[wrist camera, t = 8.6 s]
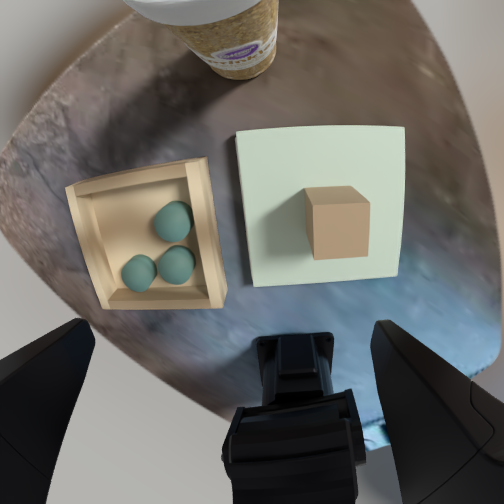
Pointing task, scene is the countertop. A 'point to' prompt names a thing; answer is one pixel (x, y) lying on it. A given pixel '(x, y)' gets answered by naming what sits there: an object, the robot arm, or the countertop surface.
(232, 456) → the robot arm
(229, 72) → the sprinkles bottle
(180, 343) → the countertop surface
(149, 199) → the box
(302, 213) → the lid
